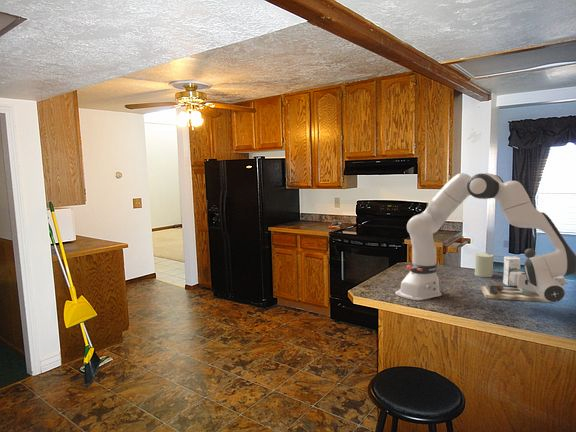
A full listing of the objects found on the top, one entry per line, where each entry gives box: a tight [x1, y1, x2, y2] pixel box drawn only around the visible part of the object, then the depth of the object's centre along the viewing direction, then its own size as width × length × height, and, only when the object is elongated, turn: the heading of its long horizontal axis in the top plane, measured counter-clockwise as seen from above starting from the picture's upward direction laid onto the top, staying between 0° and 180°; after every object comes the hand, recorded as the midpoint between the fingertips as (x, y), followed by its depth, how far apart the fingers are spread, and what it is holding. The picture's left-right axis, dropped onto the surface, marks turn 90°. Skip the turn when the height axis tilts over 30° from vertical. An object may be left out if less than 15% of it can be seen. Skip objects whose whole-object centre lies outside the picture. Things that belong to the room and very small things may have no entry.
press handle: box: [516, 248, 537, 293], centre depth 182 cm, size 6×8×20 cm
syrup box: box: [502, 255, 521, 287], centre depth 200 cm, size 6×6×14 cm
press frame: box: [480, 279, 550, 303], centre depth 185 cm, size 26×14×6 cm, turn 73°
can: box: [474, 252, 494, 278], centre depth 220 cm, size 9×9×12 cm
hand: (531, 273), depth 178 cm, fingers open, 8 cm apart
